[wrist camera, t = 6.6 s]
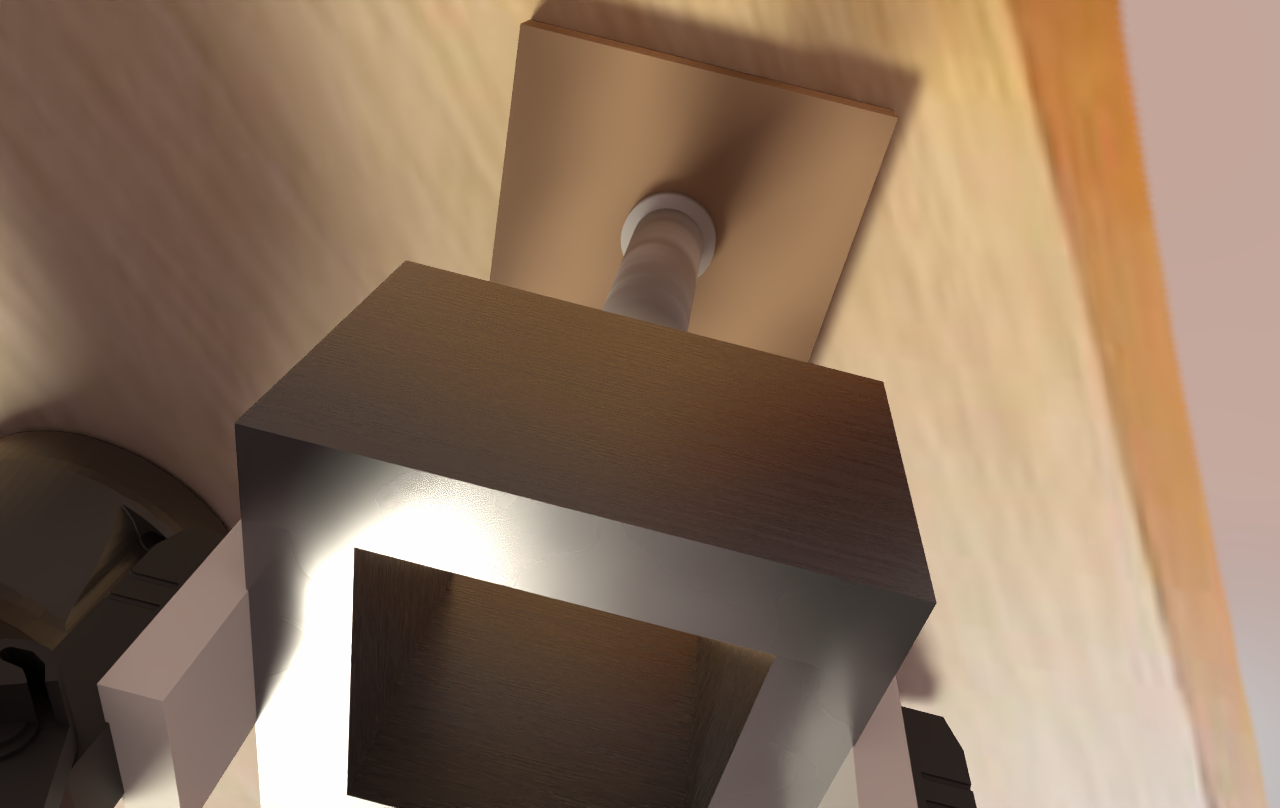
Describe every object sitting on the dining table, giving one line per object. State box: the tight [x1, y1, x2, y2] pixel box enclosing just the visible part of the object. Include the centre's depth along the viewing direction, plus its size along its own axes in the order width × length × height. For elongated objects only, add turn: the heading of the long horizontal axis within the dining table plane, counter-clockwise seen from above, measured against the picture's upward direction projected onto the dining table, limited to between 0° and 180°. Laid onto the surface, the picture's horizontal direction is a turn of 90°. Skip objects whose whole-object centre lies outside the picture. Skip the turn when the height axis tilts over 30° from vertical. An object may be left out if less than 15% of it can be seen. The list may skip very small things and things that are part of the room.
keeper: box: [490, 20, 898, 363], centre depth 25 cm, size 12×11×9 cm
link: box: [235, 261, 936, 808], centre depth 13 cm, size 8×8×5 cm
